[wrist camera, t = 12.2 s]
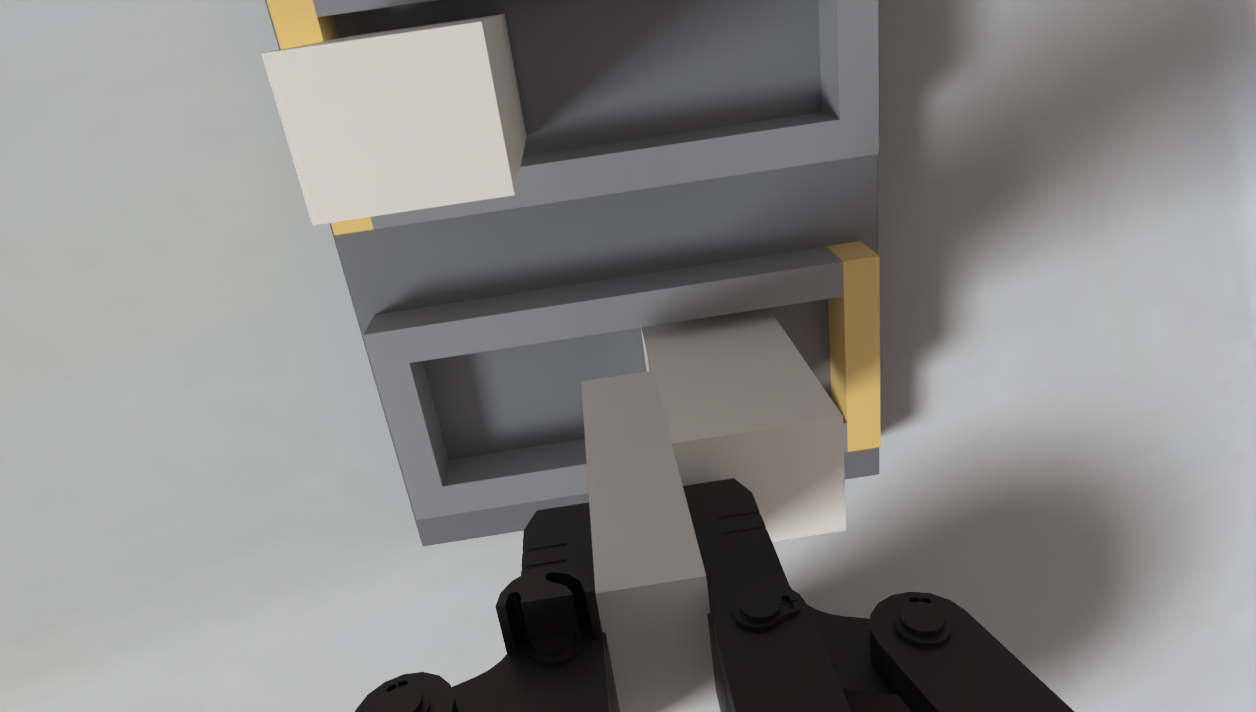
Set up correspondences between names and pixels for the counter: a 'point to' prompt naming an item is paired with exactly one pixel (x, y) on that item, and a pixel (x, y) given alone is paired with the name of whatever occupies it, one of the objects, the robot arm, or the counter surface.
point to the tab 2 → (751, 418)
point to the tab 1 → (401, 118)
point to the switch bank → (619, 232)
